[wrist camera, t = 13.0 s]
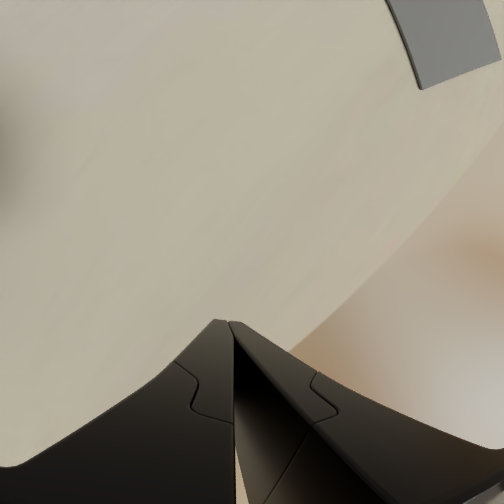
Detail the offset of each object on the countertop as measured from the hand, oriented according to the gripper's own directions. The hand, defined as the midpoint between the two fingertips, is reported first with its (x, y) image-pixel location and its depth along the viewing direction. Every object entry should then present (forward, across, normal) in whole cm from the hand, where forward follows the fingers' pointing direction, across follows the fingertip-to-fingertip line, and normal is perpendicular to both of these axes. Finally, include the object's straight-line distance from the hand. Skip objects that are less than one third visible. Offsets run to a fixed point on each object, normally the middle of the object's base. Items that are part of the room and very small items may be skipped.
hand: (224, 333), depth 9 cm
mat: (+15, +13, +26) cm, 33 cm away
